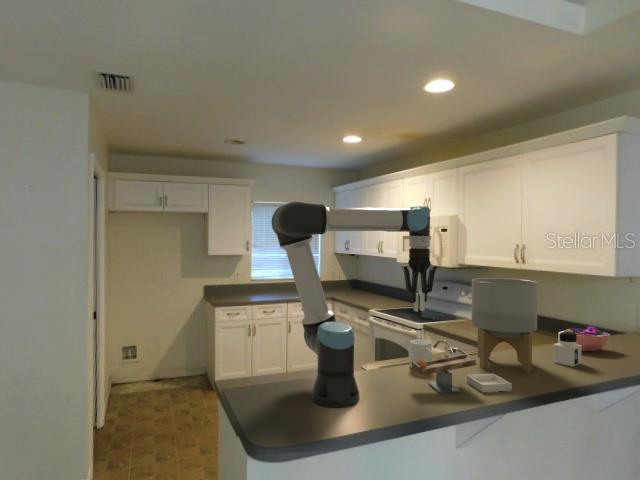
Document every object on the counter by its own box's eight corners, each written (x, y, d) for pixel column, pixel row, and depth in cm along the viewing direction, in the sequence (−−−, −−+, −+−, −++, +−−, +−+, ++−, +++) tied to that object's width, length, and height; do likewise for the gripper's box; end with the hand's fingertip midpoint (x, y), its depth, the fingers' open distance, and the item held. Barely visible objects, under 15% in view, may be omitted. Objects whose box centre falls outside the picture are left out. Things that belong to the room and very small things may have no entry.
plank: (420, 375, 140) (419, 367, 139) (406, 364, 152) (405, 356, 152) (476, 365, 142) (475, 356, 142) (458, 354, 155) (457, 347, 155)
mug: (441, 372, 162) (441, 345, 162) (422, 374, 159) (422, 347, 159) (423, 363, 173) (423, 338, 173) (406, 365, 171) (406, 340, 171)
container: (581, 363, 175) (581, 332, 175) (572, 367, 170) (572, 334, 170) (562, 359, 181) (562, 329, 181) (553, 362, 177) (553, 331, 177)
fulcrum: (440, 394, 139) (440, 373, 139) (428, 384, 149) (428, 364, 149) (460, 393, 140) (460, 372, 140) (447, 383, 150) (447, 363, 150)
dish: (482, 392, 141) (482, 384, 141) (466, 382, 151) (466, 374, 151) (511, 391, 142) (511, 383, 142) (494, 380, 153) (494, 373, 153)
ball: (420, 371, 142) (418, 361, 141) (416, 368, 145) (414, 359, 145) (429, 368, 142) (427, 359, 142) (425, 365, 145) (423, 356, 145)
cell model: (553, 346, 204) (553, 322, 204) (591, 345, 207) (591, 322, 207) (578, 355, 188) (578, 330, 188) (620, 354, 190) (620, 329, 190)
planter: (458, 359, 180) (458, 279, 180) (499, 352, 191) (499, 277, 191) (508, 376, 158) (508, 284, 158) (550, 367, 169) (551, 282, 169)
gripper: (403, 247, 153) (403, 312, 153) (442, 248, 155) (442, 312, 155) (397, 247, 160) (396, 309, 160) (434, 247, 163) (433, 308, 163)
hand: (419, 310), depth 158 cm, fingers open, 2 cm apart
